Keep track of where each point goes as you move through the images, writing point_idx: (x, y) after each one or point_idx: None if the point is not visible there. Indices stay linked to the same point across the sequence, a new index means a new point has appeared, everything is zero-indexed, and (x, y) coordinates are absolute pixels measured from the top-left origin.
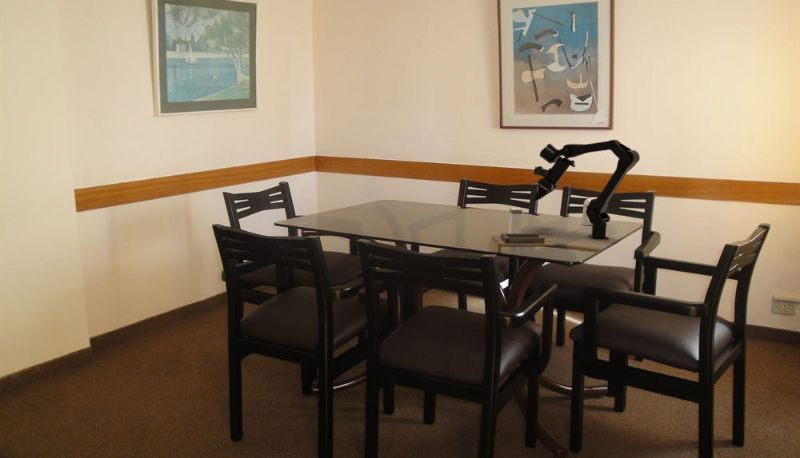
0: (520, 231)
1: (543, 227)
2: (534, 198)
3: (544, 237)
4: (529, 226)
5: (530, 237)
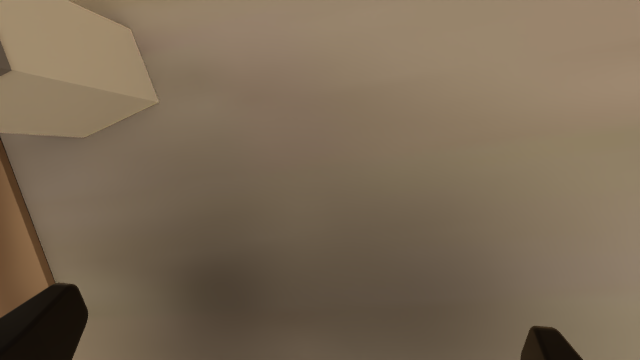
0: (58, 133)
1: (547, 294)
2: (30, 301)
3: None
4: (550, 153)
5: None
